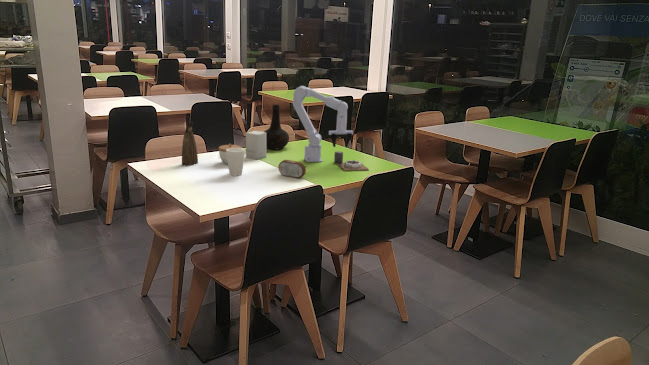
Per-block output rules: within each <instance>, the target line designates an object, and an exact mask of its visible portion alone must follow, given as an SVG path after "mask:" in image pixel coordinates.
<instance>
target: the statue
mask: <svg viewBox="0 0 649 365" xmlns="http://www.w3.org/2000/svg"><path fill="white" fill-rule="evenodd" d="M185 125H186V128H185V131H184V134H183V138H182V139H183V140H182V147H181V149H182V150H181V165H182V166H184V165H189V166H195V165H197V164H199V156H198V149H197V143H196V142H197V141H196V137H195V135H194V131H193V125H194V122H193V121H191V119H189V120H188V121H186V122H185ZM194 164H195V165H194Z"/></svg>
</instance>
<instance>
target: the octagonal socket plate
mask: <svg viewBox="0 0 649 365" xmlns="http://www.w3.org/2000/svg"><path fill="white" fill-rule="evenodd" d="M337 166H338V167H339V168H341V170H343V171H344V172H358V171H359V172H361V171H369V170H370V169H369V168H368V167H367V166H366V165H365V164H364V163H362V162H361V161H359V160H355V159H352V160H351V159H348V160H345V161H343V163H337Z"/></svg>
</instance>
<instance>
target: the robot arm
mask: <svg viewBox="0 0 649 365" xmlns="http://www.w3.org/2000/svg"><path fill="white" fill-rule="evenodd" d="M292 94H293V96H292V97H293V99H292V106H293V108H294V110H295V112H296V113H297V116H298V118H299V120H300V122H301V124H302V125H303V128H304V129H305V131H306V135H307V137H308V143H309V144H308V145H305V146H304V155H303V156H304V158H303V159H304V160H305V161H306V162H307V163H311V162H312V163H315V162H316V163H317V162H323V160H322V159H321V157H322V144H321V141H322V135H321V134H320V133H319V132H318V131H317V129H316V128H315V127H314V124H313V123H312V121H311V119H310V117H309V115H308V113H307V111H306V109H305V107H304V105H303V103H304V99H305V98H310V97H311V98H314V99H316V100H318V101H320V102H323V103H325V106H327V107H329V108H331V109H333V110H335V111H337V114H336V129H335V130H328V135H329V136H330V140H331V142H332V147H334V148H336V141H337V138H338V137H337V135H345V141H344V142H345V143H344V145H345V147H349V144H350V141H351V139H352V137H353V135H354V130H350V129H348V130H347V123H348V108H349V105H348V103H347V102H345V101H342V100H341V99H340V100H339V99H338V98H335V96H333V95H332V96H331V95H329V96H326V95H324V94H322V93H320V92H318V91H316V90H314V89H312V88H310V87H308V86H307V87H306V85H299V87H296V88H295V90H294V91H293V93H292Z"/></svg>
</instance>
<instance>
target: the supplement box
mask: <svg viewBox="0 0 649 365" xmlns="http://www.w3.org/2000/svg"><path fill="white" fill-rule="evenodd" d="M245 157H246V158H248V159H253V160H260V159H263V158H267V147H266V132H264V131H259V130H253V131H247V132H245Z"/></svg>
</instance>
